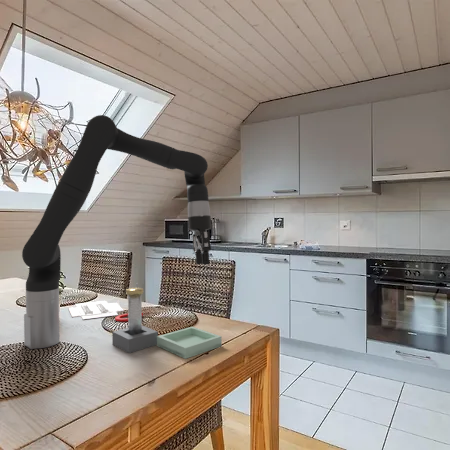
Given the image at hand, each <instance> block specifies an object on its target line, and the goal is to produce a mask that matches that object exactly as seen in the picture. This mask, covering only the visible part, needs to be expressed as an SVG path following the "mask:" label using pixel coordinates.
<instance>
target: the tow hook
mask: <svg viewBox="0 0 450 450" xmlns="http://www.w3.org/2000/svg"><path fill="white" fill-rule="evenodd" d="M135 288H139V282H136V283H135ZM143 316H144V313H143V312H142V317H143ZM127 317H128V313H123V314H119V315H115V318H114V320H115V322H128V318H127Z"/></svg>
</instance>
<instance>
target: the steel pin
mask: <svg viewBox="0 0 450 450" xmlns="http://www.w3.org/2000/svg"><path fill="white" fill-rule="evenodd" d="M125 294H126V295H127V299H128V300H127V303H128V304H127V307H128V308H127V310H128V313H127V314H128V316H127V317H128V321H127V322H128V324H127V325H128V326H127V328H128V334H129V335H131V336H133V335H137V334H140V333H142V326H143V323H142V322H143V321H142V319H143V318H142V317H143V316H142V313H143V312H142V307H143V306H142V303H143V302H142V295H143V294H144V288H142V287H138V288H136V287H130V288H126V289H125Z"/></svg>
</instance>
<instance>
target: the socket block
mask: <svg viewBox="0 0 450 450" xmlns="http://www.w3.org/2000/svg"><path fill="white" fill-rule="evenodd" d="M157 336H159V331H157V330H155V329H152V328H150V327H148V326H145V325H142V333H140V334H137V335H133V336H131V335H129V334H128V327H126V328H122V329H118V330H114V331H112V336H111V337H112V346H115V347H116V348H119V349H121V350H122V351H124V352H126V353H128V354H131V353H134V352H137V351H141V350H143V349H144V350H145V349H148V348H151V347H154V346H157Z"/></svg>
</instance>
